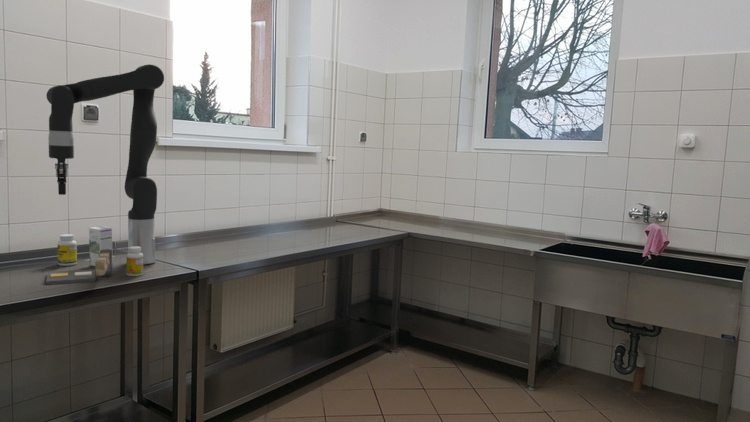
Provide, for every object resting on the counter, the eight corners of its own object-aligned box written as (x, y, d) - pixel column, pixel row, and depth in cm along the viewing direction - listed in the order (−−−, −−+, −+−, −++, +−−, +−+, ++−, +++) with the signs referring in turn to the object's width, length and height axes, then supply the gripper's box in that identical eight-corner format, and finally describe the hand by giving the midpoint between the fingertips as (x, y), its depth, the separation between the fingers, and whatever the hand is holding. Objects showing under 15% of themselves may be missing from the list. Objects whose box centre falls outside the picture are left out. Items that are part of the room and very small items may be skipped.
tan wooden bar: (100, 262, 188) (100, 249, 188) (112, 262, 189) (112, 249, 189) (93, 276, 169) (92, 261, 168) (105, 275, 170) (105, 261, 169)
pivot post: (112, 274, 190) (112, 262, 190) (113, 276, 187) (112, 265, 186) (99, 274, 188) (99, 263, 188) (100, 277, 185) (99, 265, 184)
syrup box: (113, 265, 203) (113, 227, 202) (99, 268, 198) (99, 228, 196) (102, 263, 206) (102, 225, 204) (88, 266, 200) (88, 227, 199)
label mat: (94, 272, 192) (94, 268, 192) (95, 281, 180) (95, 276, 180) (48, 274, 185) (48, 270, 185) (46, 284, 173) (46, 280, 173)
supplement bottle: (123, 274, 190) (123, 247, 189) (137, 272, 195) (137, 245, 194) (132, 277, 187) (131, 249, 186) (146, 274, 192) (146, 247, 191)
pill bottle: (53, 264, 200) (53, 235, 199) (68, 262, 206) (68, 233, 205) (66, 266, 198) (65, 236, 197) (80, 263, 204) (80, 234, 202)
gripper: (73, 145, 184) (74, 196, 186) (73, 144, 195) (74, 192, 197) (47, 144, 180) (48, 196, 182) (49, 143, 192) (50, 192, 194)
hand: (62, 194), depth 190 cm, fingers closed
